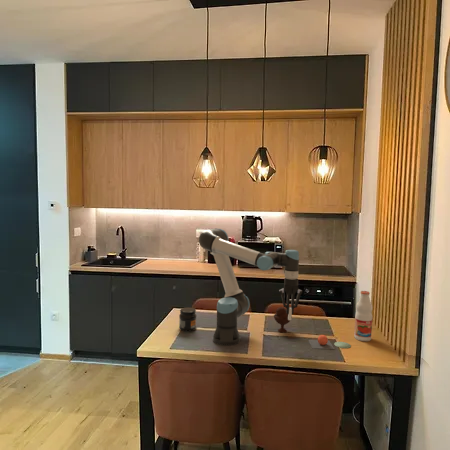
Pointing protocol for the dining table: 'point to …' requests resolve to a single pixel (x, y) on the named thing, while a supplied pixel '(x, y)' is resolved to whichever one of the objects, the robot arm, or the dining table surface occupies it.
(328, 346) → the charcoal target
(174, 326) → the dining table surface
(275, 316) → the ice cream bowl
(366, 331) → the fruit juice
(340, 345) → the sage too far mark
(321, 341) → the ball
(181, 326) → the supplement container
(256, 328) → the dining table surface
